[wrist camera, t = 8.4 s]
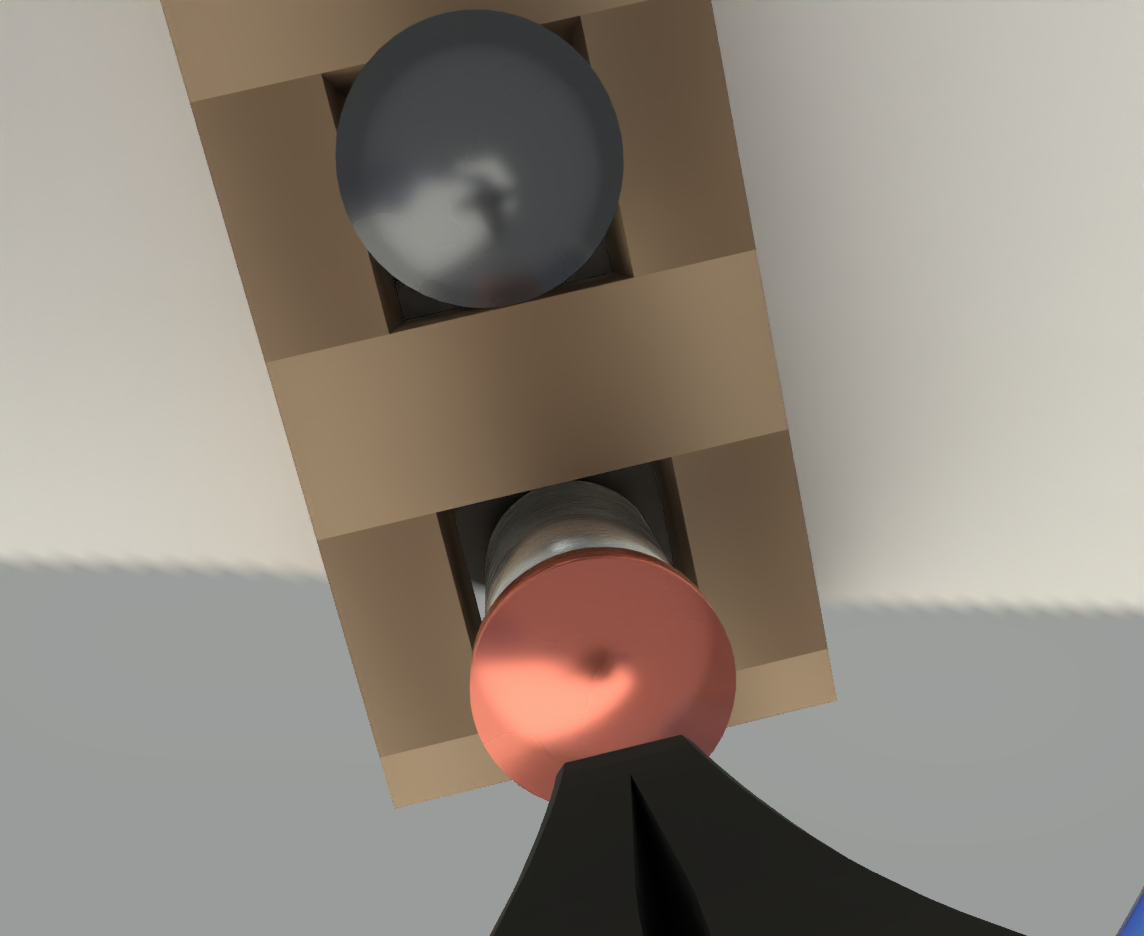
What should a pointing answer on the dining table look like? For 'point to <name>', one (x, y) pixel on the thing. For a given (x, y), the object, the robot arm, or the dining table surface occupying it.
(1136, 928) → the medicine box
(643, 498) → the dining table surface
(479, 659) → the plunger red
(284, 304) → the jig
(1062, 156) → the dining table surface
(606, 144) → the plunger
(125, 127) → the dining table surface
